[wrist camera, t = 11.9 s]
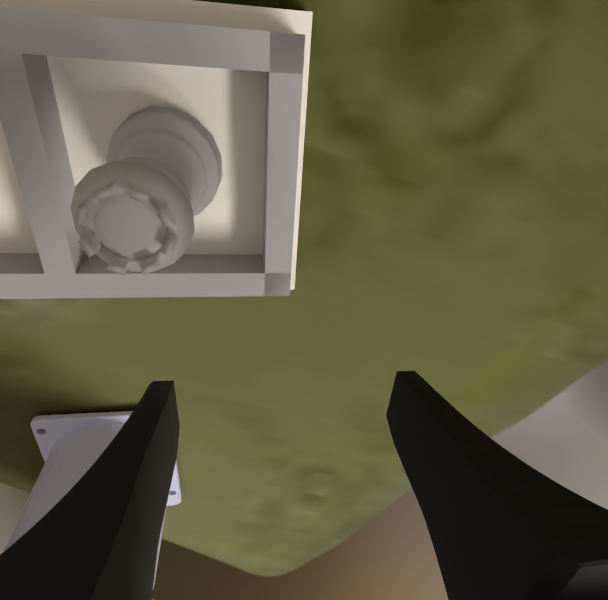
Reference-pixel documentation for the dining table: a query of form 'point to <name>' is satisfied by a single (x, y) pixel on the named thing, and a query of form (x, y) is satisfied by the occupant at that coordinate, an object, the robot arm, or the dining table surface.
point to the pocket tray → (134, 97)
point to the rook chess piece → (147, 191)
